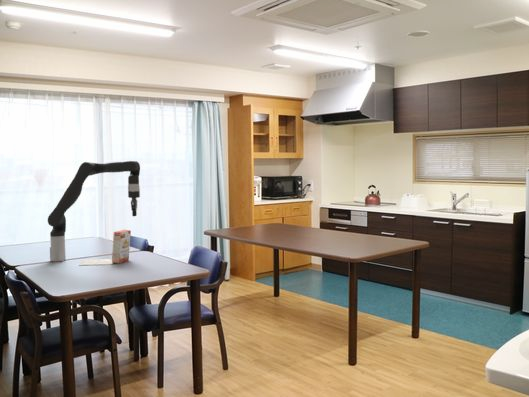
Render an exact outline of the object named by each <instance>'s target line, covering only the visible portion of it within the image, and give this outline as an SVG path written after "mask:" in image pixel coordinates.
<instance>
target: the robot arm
mask: <svg viewBox="0 0 529 397" xmlns="http://www.w3.org/2000/svg"><path fill="white" fill-rule="evenodd" d="M140 171H141V164H140V163H139V161H137V160H129V161H113V162H107V163H99V162H98V163H97V162H90V161H85V162H82V163H81V164H80V166H78V170H77V172H76V173H75V175H74V177H73V178H72V181H71V182H70V184H68V187H67V188H66V189H65V191H64V193H63V194H62V196H61V198H60V200H59V201H58V203H57V205H56V206H55V208H54V209H52V211H51V213H50V214H48V215H49V216H47V224H48V225H49V226H50V227H52V230H51V231H50V233H49V236H50V237H49V238H50V240H49V241H50V247H49V259H50V262H56V263H57V262H64V261H66V237H65V236H66V235H65V234H66V231H67V230H66V227H67V220H66V215H65V214H66V212H67V211H68V210H69V209H70V208H71V207H73V205H74V204H75V203H76V201H77V200H78V198H79V197H80V196H81V193H82V190H83V185H84V183H85V181H86V180H87V178H88V177H89V176H93V175H94V176H95V175H98V174H103V173H124V172H129V175H128V180H127V182H128V183H127V184H128V185H127V191H128V192H127V195H128V196H127V197H128V198H129V199H131V200H130V208H131V212H132V213H131V214H132V215H131V216H132V217H137V216H138V214H137V210H138V198H140V197H141V196H140V195H141V194H140V193H141V192H140V189H141V188H140V173H141V172H140Z"/></svg>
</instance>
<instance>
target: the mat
mask: <svg viewBox="0 0 529 397" xmlns="http://www.w3.org/2000/svg"><path fill="white" fill-rule="evenodd" d="M106 265H107V266H110V265H114V263H112V258H110V259H109V258H107V259H106V258H105V259H102V258H101V259H85V260H84V261H83V262H81V263H80V264H79V265H78V266H82V267H83V266H106Z"/></svg>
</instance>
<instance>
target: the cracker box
mask: <svg viewBox="0 0 529 397" xmlns="http://www.w3.org/2000/svg"><path fill="white" fill-rule="evenodd" d="M131 232H132V230H129V229H120V230H116V231H114V232H113V236H112V237H113V238H112V239H113V240H112V252H111V254H112V255H111V259H112V263H113V264H121V263H125V262H127V261H129V260H130V250H131V249H130V248H131V247H130V246H131Z"/></svg>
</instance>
